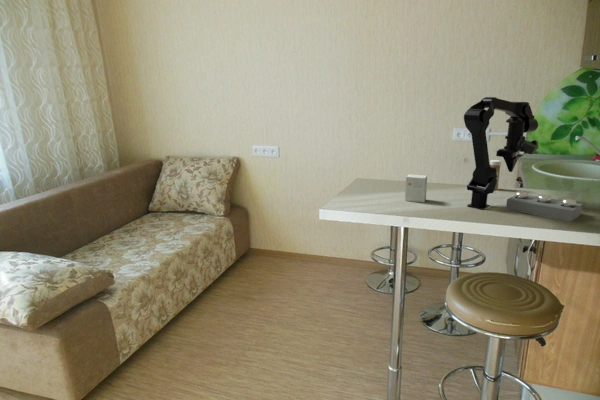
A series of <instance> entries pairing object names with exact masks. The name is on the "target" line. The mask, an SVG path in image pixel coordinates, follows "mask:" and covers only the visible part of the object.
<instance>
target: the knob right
mask: <svg viewBox="0 0 600 400" xmlns="http://www.w3.org/2000/svg"><path fill="white" fill-rule="evenodd" d="M561 201H562V203H561V205H563V206H565V207H570V208H572V207H575V206H576V203H577V200H575V199H573V198H572V199H571V198H563V199H562V200H561Z"/></svg>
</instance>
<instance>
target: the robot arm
mask: <svg viewBox="0 0 600 400" xmlns="http://www.w3.org/2000/svg"><path fill="white" fill-rule="evenodd" d="M495 110H496V111H501V112H504V114H505V115H507V116H509V117H508V119H506V121H505V122H506V123H508V125H507V126H508V129H507V135H505V136H504V137H505V138H504V139H505V140H506V143H505V145H504V146H503V148H499V149H498V150H496V155H495V156H496V157H502V158H503V160H504V162H505V165H506V168H507V170H508V173H509V172H510V173H512V172H514V169H515V166H516V164H517V162H518V160H519V159H520V158H522V157H523V156H524V154H521V153H525V154H529V155H533V154H535V153H536V151H537V150H538V149H539V142H538V140H535V139H534V140H531V141H530V140H529V141H528V140H526V136H525V135H524V134H526V133H533V132H535V131H537V129H538V128H539V123H538V120H537V119H536V118H535V115H534V114H533V111H532V108H531V105H530V103H529V102H528V101H510V100H505V99H501V98H498V97H495V96H486V97H483V98H481V100H480V101H478V102H477V103H475V104H473V105H471V106H470V107H469V109H467V110H466V111H465V112H464V114H463V122H464V124H465V128H466V129H467V130H468V131H469V133H470V134H471V141H472V148H473V156H474V162H475V168H474V170H473V172H472V177H471V179H470V180H469V182H468V183H467V185H466V189H467V191H471V201H470V203H469V204H467V205H466V206H467V207H470V208H475V209H480V210H485V209H486V208H489V207H490V204H488V203H487V202H488V195H490V194H493V193H494V192H495V190H494V189H495V186H496V183H497V178H496V177H497V174H496V168H493V167H491V166H490V156H489V149H488V148H489V147H488V140H487V129H488V127H489V125H490V119H492V117H494V115H495ZM520 152H521V153H520Z"/></svg>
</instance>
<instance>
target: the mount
mask: <svg viewBox="0 0 600 400" xmlns="http://www.w3.org/2000/svg"><path fill="white" fill-rule="evenodd" d="M537 199H538V195H530V194H528V198H526V199H525V200H524V199H519V198H516V197H515V195H513V196H511V197H509V198H507V200H506V206H505V209H506V210H509V211H514V212H519V213H524V214H528V215H529V214H530V215H535V216H540V217H543V218H544V217H545V218H550V219H555V220H560V221H566V222H572V221H574V220H575V219H577V218H578V217H579V216H581V215H582V209H583V203H579V202H576V206H575V207H572V208H570V207H565V206H563V205H561V203H562V200H561V199H555V198H551V202H548V203H542V202H540V201H538V200H537Z"/></svg>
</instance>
